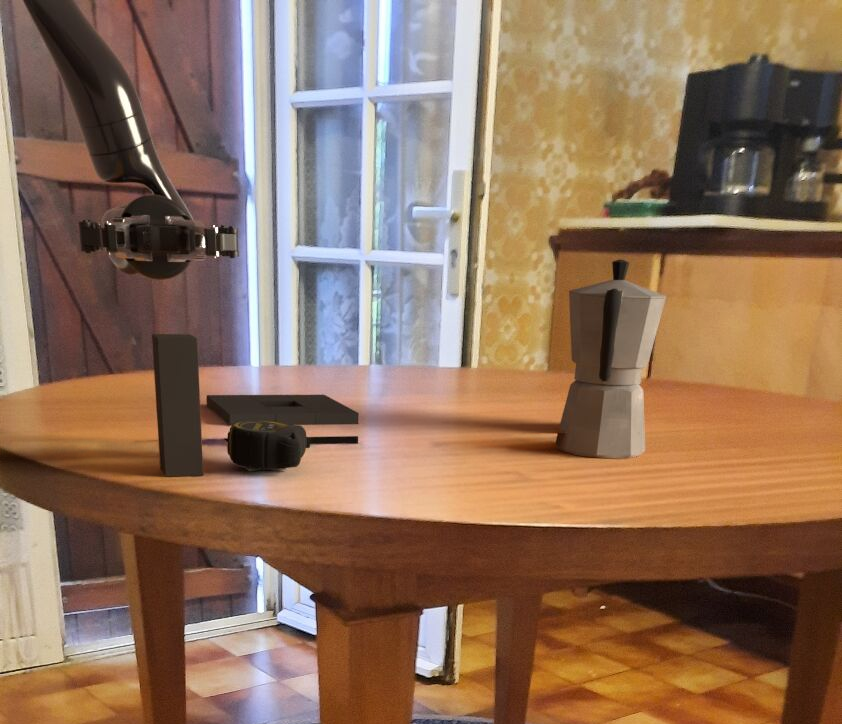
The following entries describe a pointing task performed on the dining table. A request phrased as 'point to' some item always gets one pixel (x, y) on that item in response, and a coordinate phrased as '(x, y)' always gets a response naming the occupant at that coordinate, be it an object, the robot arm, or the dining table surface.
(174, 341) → the bar
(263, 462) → the tape measure
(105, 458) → the dining table surface
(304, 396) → the base pad
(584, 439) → the coffeepot
